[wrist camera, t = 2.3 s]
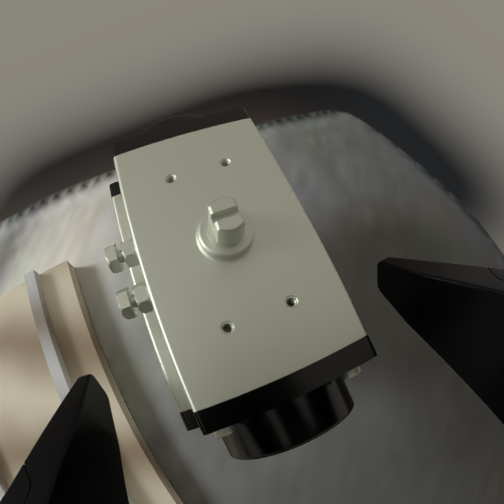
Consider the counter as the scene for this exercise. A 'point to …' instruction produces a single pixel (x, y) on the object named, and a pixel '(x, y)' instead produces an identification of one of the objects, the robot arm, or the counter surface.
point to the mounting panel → (60, 378)
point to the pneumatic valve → (233, 285)
